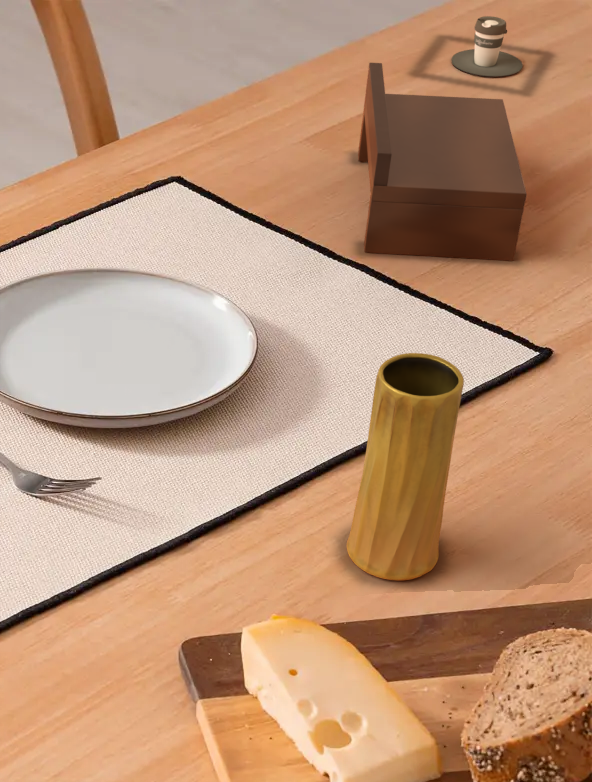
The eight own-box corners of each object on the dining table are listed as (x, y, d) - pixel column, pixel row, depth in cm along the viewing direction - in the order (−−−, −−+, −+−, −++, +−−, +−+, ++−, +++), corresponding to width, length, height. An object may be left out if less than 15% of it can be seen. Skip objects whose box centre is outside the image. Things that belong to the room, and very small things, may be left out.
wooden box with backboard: (491, 162, 152) (508, 68, 146) (513, 261, 137) (533, 161, 131) (357, 155, 153) (369, 62, 147) (364, 252, 138) (377, 153, 132)
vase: (330, 560, 104) (354, 382, 95) (370, 514, 108) (396, 338, 99) (414, 594, 101) (447, 413, 93) (452, 544, 105) (486, 367, 97)
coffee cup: (549, 54, 174) (557, 10, 171) (526, 93, 165) (535, 48, 162) (443, 36, 178) (450, -7, 175) (416, 74, 169) (422, 29, 166)
